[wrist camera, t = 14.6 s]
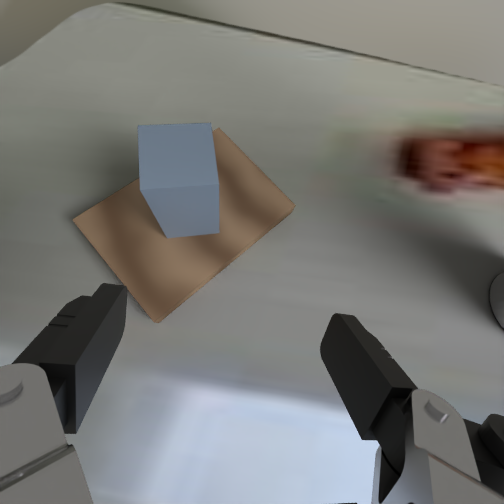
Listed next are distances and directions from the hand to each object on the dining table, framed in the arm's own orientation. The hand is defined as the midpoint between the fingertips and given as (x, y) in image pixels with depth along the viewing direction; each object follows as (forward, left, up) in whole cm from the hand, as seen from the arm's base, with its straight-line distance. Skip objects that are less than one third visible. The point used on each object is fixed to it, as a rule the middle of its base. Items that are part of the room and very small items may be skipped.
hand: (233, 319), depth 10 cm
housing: (-5, -12, -17) cm, 21 cm away
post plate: (-5, -12, -19) cm, 23 cm away
